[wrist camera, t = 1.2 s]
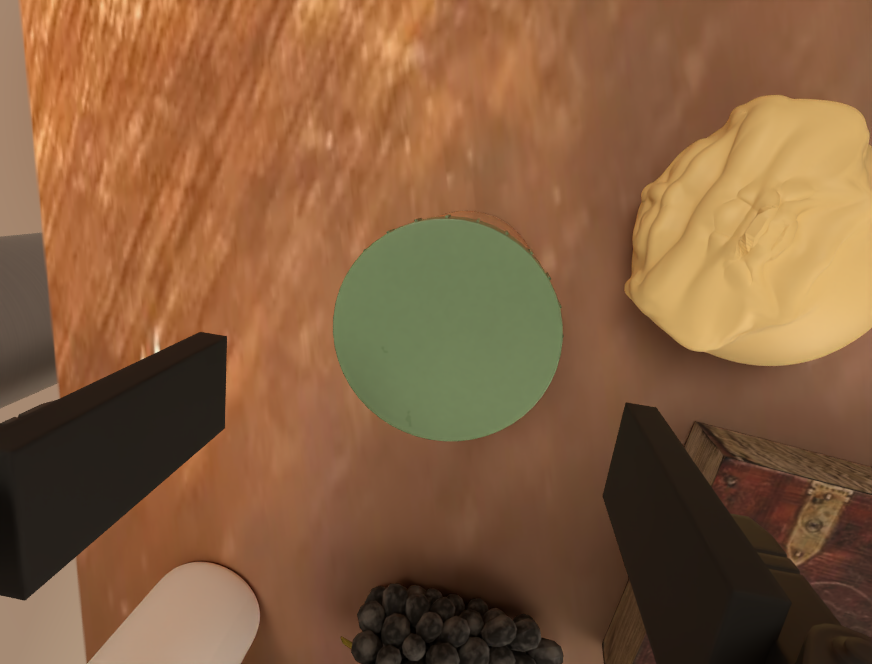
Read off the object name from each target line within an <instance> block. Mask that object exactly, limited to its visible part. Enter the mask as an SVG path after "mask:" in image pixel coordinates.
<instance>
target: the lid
mask: <svg viewBox="0 0 872 664" xmlns="http://www.w3.org/2000/svg"><path fill="white" fill-rule="evenodd" d="M414 221H415V222H413V223H410V224H407V225H404V226H402V227H399V228H397V229H392V230H389V231H387V232H386V233H387V234H385V235H384V236H383V237H381V238H380V239H378V240H377V241H375V242H374V243H373V244H372V245H371V246H369V247H368V248H367V249H364V251H363V253H362V254H361V255H360V256H359V258H358V259H357V260H356V261H355V262H354V264H353V265H352V267H351V268H350V270H349V272H348V273H347V274H346V276H345V278H344V281H343V283H342V285H341V287H340V290H339V293H338V296H337V300H336V303H335V310H334V316H333V336H334V345H335V350H336V354H337V358H338V361H339V364H340V366H341V369H342V371H343V374H344V376H345V377H346V379H347V381H348V383H349V385H350V386H351V388H352V389H353V391H354V392H355V393H356V395H357V396H358V398H359V399H360V400H361V401H362V402H363V403H364V404H365V405H366V406H367V407H368V408H369V409H370V410H371V411H372V412H373V413H375V414H376V415H377V416H378V417H379V418H381V419H382V420H384V421H385V422H387V423H388V424H390V425H392V426H393V427H395V428H397V429H399V430H401V431H403V432H406V433H409V434H412V435H414V436H417V437H421V438H426V439H430V440H438V441H464V440H472V439H476V438H480V437H484V436H488V435H490V434H493V433H495V432H498V431H500V430H502V429H504V428H506V427H508V426H509V425H511V424H513V423H514V422H516V421H517V420H518V419H520V418H521V417H523V416H524V415H525V414H526V413H527V412H528V411H529V410H530V409H531V408H532V407H533V406H534V405H535V404H536V403H537V402H538V401H539V399H540V398H541V397H542V396H543V394H544V393H545V391H546V389H547V388H548V386H549V384H550V383H551V381H552V378H553V376H554V374H555V372H556V369H557V366H558V362H559V359H560V355H561V348H562V341H563V324H562V318H561V311H560V308H561V305H560V303H559V301H558V300H557V296H556V294H555V291H554V289H553V287H552V285H551V283H550V280H551V278H550V276H549V274H548V272H547V273H545V271H544V269H543V268H542V266H541V265H540V263H539V262H538V260H537V259H536V258H535V257H534V255H533V252H532V250H531V249H529V250H528V249H527V248H526V247H525V246H524V245H523V244H522V243H521V242H520V241H519V240H517V239H516V238H514V237H513V236H511V235H510V234H509V232H508V230H506V231H503V230H502V229H500V228H498V227H496V226H494V225H491V224H488V223H486V222H483V221H480V218H478V219H477V220H476V219H471V218H466V217H456V216H451V214H448V215H446V216H442V217H432V218H427V219H421V218H418V219H415V220H414Z"/></svg>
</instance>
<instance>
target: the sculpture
mask: <svg viewBox="0 0 872 664" xmlns="http://www.w3.org/2000/svg"><path fill="white" fill-rule="evenodd" d="M869 138H870V134H869V131H868V128H867V125H866V121H865V118H864V117H863V115H862V114H861V113H860V112H859V111H858V110H857V109H855V108H853V107H851V106H849V105H846V104H843V103H838V102H833V101H825V100H815V99H791V98H788V97H786V96H782V95H767V96H762V97H758V98H756V99H753V100H751V101H750V102H748V103H746V104H744V105H740V106H738V107H736V108H735V109H734V110H733V111H732V112H731V114H730V117H729V120H728V121H727V122H726V124H725V125H724V126H723V127H722V128H721V129H719V130H718V131H716V132H715V133H713V134H712V135H710V136H709V137H708V138H704V139H700V140H698V141H696V142H694V143H693V144H691V145H690V146H688V147H687V148H686V149H685V150H683V151H682V152H681V153H680V154H679V155H678V156H677V157H676V158H675V159H674V160H673V162H672V163H671V164H670V165H669V167H668V168H667V169H666V170H665V171H664V173H663V174H662V175H661V176H660V177H659V178H658V179H657V180H656V181H655V182H653V183H650V184H648V185H647V186H646V187H645V188H644V189H643V191H642V193H641V200H642V202H641V204H640V207H639V210H638V213H637V218H636V223H635V227H634V230H633V236H632V243H633V248H634V249H633V255H632V276H631V277H630V279H629V280H628V281H627V282H626V283H625V286H624V290H625V293H626V294H627V296H628V297H629V298H630V299H631V300H632V301H633V302H634V304H635V305H636V306H637V307H638V308H639V309H640V310H641V312H642V313H643V314H645V315H646V316H649V318H650V319H651V320H652V321H653V322H654V323H655V324H656V325H657V326H658V327H660V328H661V329H662V330H663V331H665V332H666V333H667V334H668V335H670V336H671V337H672V338H673V339H674V340H675V341H676V342H678V343H679V344H680V345H682V346H684V347H685V348H687V349H689V350H692V351H697V352H703V351H704V352H707V353H709V354H712V355H714V356H717V357H720V358H723V359H726V360H730V361H734V362H738V363H743V364H750V365H760V366H782V365H791V364H797V363H803V362H807V361H811V360H814V359H817V358H820V357H823V356H826V355H828V354H830V353H833V352H835V351H837V350H839V349H841V348H843V347H845V346H846V345H848V344H850V343H851V342H853V341H855V340H856V339H858V338H859V337H860V336H862V335H863V334H865V333H866V332H867V331H868V330H870V329H871V328H872V147H871V146H870V145H869V144H868V143H869Z"/></svg>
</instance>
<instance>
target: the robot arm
mask: <svg viewBox="0 0 872 664" xmlns="http://www.w3.org/2000/svg"><path fill="white" fill-rule="evenodd" d="M226 353H227V336H221V335H215V334H209V333H203V332H199V333H197V334H195V335H193V336H191V337H188V338H186V339H184V340H182V341H180V342H178V343H176V344H174V345H172V346H170V347H167V348H165V349H163V350H161V351H159V352H157V353H155V354H153V355H151V356H149V357H146V358H144V359H142V360H140V361H138V362H136V363H134V364H132V365H130V366H128V367H125V368H123V369H121V370H119V371H117V372H115V373H113V374H111V375H109V376H107V377H104V378H102V379H100V380H98V381H96V382H94V383H92V384H90V385H88V386H86V387H83V388H81V389H79V390H77V391H75V392H73V393H71V394H69V395H67V396H65V397H62V398H60V399H58V400H55V401H52V402H47V403H44V404H41V405H39V406H37V407H34V408H32V409H30V410H28V411H26V412H24V413H22V414H19V416H18V418H17V417H13V418H11V419H9V420H7V421H5V422H2V423H0V595H2V596H6V597H11V598H16V599H20V600H26V599H27V598H28V597H30V596H31V595H32V594H33V593H34V592H35V591H36V590H38V589H39V588H40V587H41V586H42V585H44V584H45V583H46V582H47V581H48V580H49V579H51V578H52V577H53V576H54V575H55V574H56V573H58V572H59V571H60V570H61V569H62V568H63V567H64V566H66V565H67V564H68V563H69V562H70V561H71V560H73V559H74V558H75V557H76V556H77V555H78V554H80V553H81V552H82V551H83V550H84V549H85V548H86V547H88V546H89V545H90V544H91V543H92V542H93V541H95V540H96V539H97V538H98V537H99V536H100V535H102V534H103V533H104V532H105V531H106V530H107V529H108V528H110V527H111V526H112V525H113V524H114V523H115V522H117V521H118V520H119V519H120V518H121V517H122V516H124V515H125V514H126V513H127V512H128V511H129V510H130V509H132V508H133V507H134V506H135V505H136V504H137V503H139V502H140V501H141V500H142V499H143V498H144V497H146V496H147V495H148V494H149V493H150V492H151V491H153V490H154V489H155V488H156V487H157V486H158V485H159V484H161V483H162V482H163V481H164V480H165V479H166V478H168V477H169V476H170V475H171V474H172V473H173V472H175V471H176V470H177V469H178V468H179V467H180V466H181V465H183V464H184V463H185V462H186V461H187V460H188V459H190V458H191V457H192V456H193V455H194V454H195V453H197V452H198V451H199V450H200V449H201V448H202V447H203V446H205V445H206V444H207V443H208V442H209V441H210V440H212V439H213V438H214V437H215V436H216V435H217V434H219V433H220V432H221V431H222V430H223V429H224V428H225V397H226ZM603 499H604V502H605V505H606V509H607V512H608V515H609V518H610V521H611V524H612V527H613V530H614V533H615V537H616V540H617V543H618V546H619V549H620V552H621V555H622V558H623V562H624V565H625V568H626V571H627V574H628V577H629V580H630V583H631V586H632V590H633V593H634V596H635V599H636V602H637V605H638V608H639V611H640V614H641V618H642V621H643V624H644V627H645V630H646V633H647V636H648V639H649V642H650V646H651V649H652V652H653V655H654V658H655V661H656V664H872V638H870V637H869V636H867V635H865V634H862V633H860V632H857V631H855V630H852V629H850V628H847V627H844V626H842V625H841V624H840V622H839V621H838V620H837V618H836V617H835V616H834V614H833V613H832V612H831V611H830V609H829V608H828V607H827V605H826V604H825V603H824V602H823V600H822V599H821V598H820V596H819V595H818V594H817V592H816V591H815V590H814V589H813V587H812V586H811V585H810V583H809V582H808V581H807V580H806V578H805V577H804V576H803V575H800V570H799V569H798V568H797V567H796V565H795V564H794V563H793V561H792V560H791V559H790V558H787V554H786V552H785V551H784V550H783V549H782V547H781V546H780V545H779V543H778V542H777V541H776V539H775V538H774V537H773V536H772V535H771V534H770V533H769V532H767V531H766V530H765V529H764V528H762V527H761V526H760V525H758V524H757V523H756V522H755V521H753V520H752V519H751V518H750V517H747V516H742V515H736V514H731V513H729V511H728V510H727V508H726V507H725V506H724V504H723V503H722V501H721V500H720V498H719V497H718V495H717V494H716V493H715V491H714V490H713V488H712V487H711V485H710V484H709V483H708V481H707V480H706V478H705V477H704V475H703V474H702V472H701V471H700V470H699V468H698V467H697V465H696V464H695V462H694V461H693V460H692V458H691V457H690V455H689V454H688V452H687V451H686V449H685V448H684V447H683V445H682V444H681V442H680V441H679V439H678V438H677V437H676V435H675V434H674V432H673V431H672V429H671V428H670V426H669V425H668V424H667V422H666V421H665V419H664V418H663V416H662V415H661V414H660V412H659V411H658V409H657V408H656V407H650V406H644V405H638V404H632V403H626V404H625V408H624V412H623V416H622V420H621V424H620V428H619V432H618V436H617V440H616V444H615V448H614V452H613V456H612V460H611V464H610V468H609V472H608V476H607V480H606V485H605V489H604V493H603Z"/></svg>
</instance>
